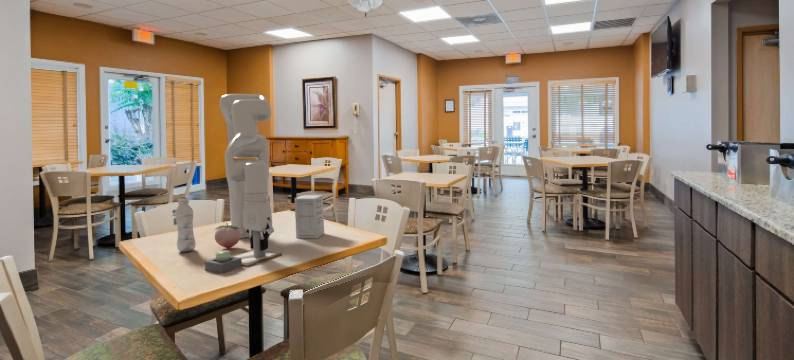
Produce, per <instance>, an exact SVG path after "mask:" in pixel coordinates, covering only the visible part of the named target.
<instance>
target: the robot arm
mask: <svg viewBox="0 0 794 360" xmlns="http://www.w3.org/2000/svg"><path fill="white" fill-rule="evenodd" d="M267 99H268V98H266V97H265V96H264V95H263V94H257V93H252V94H251V93H227V94H223V95H222V96H221V97H220V99H219V107H220V111H221V114H222V116H223V119H224V120H225V124H226V131H227V147H226V149H225V153H224V162H225V164H224V165H225V176H226V181H227V185H228V194H229V195H228V196H229V197H228V198H229V213H230V214H229V215H230V223H229V224H228V226H229V225H236V226H238V227H239V228H240V229H238V230H239V232H240V239H246V238H249V241H250V245H249V246H250V250H252V249H253V231H260V235H261V239H260V250H261V251H263V250H269V239H270V236H271V235H272V234H273V233H274V232H275V229H274V227H273V217H272V216H273V214H272V208H271V204H270V201H269V190H268V189H269V187H268V180H269V177H270V161H269V159H270V158H269V145H268V141H267V138H266V137H265V136H264V135H260V134H259V128H258V122H269V121H270V120H271V117H272V110H271V109H272V108H271V105H270V103H269V101H268V100H267ZM254 158H255V159H254ZM234 159H239V160H234ZM242 159H243V160H242ZM264 232H265V234H264Z"/></svg>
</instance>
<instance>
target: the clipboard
mask: <svg viewBox="0 0 794 360" xmlns="http://www.w3.org/2000/svg"><path fill="white" fill-rule="evenodd" d="M265 252H266V256H265V257H262V258H254V251H253V249H250V250H246V251H243V252H238V253H236V254H233V255H232V256H233V257H238V258H241V260H242V268H243V267H245V268H249V267H251V266H255V265H259V264H261V263H263V262H266V261H269V260H272V259H275V258H277V257H281V256H282V254H283V253H281V252H275V251H273V250H270V249H266V250H265Z"/></svg>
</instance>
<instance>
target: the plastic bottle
mask: <svg viewBox="0 0 794 360" xmlns="http://www.w3.org/2000/svg"><path fill="white" fill-rule="evenodd" d="M177 204H178V206H177V207H176V209H175V212H174V217H175V221H176V227H177V240H176V241H177V242H176V247H177V250H178V252H183V253H184V252H186V253H189V252H192V251H194V250H195V249H196V246H197V243H196V238H195V235H194V223H193V221H194V209H193V208H192V207H191V206H190V205H189V204H190V202H189V198H188V197H181V198H180V197H179V198H177Z"/></svg>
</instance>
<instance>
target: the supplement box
mask: <svg viewBox="0 0 794 360" xmlns="http://www.w3.org/2000/svg"><path fill="white" fill-rule="evenodd" d="M323 196H324V195H322V194H317V195H316V194H313V195H312V194H311V195H309V194H308V195H307V194H305V195H304V194H303V195H300V196H298V197H295V198H294V218H295V234H296V235H295V236H296V239H318V238H320V237H322V236H323V235H324V234H325V220H324V219H325V218H324V199H323V198H324V197H323Z"/></svg>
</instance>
